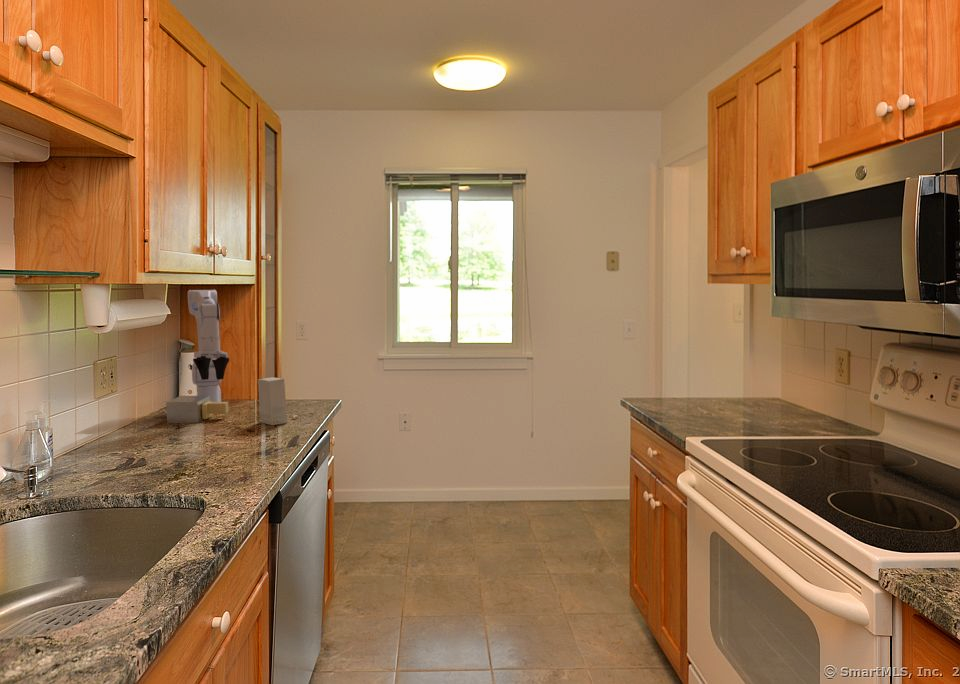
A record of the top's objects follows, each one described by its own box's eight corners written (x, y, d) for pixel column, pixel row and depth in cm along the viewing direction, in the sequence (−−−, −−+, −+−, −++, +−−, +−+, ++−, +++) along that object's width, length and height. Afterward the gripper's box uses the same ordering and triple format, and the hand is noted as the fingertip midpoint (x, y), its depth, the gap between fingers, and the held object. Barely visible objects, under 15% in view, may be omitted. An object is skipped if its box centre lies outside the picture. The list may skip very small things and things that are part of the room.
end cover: (185, 415, 226) (184, 401, 226) (230, 415, 227) (229, 401, 227) (178, 419, 220) (177, 404, 220) (224, 418, 221) (223, 404, 221)
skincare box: (287, 423, 216) (286, 378, 215) (270, 426, 212) (268, 380, 211) (275, 419, 222) (274, 376, 221) (258, 422, 218) (257, 378, 217)
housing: (181, 415, 229) (180, 395, 228) (210, 415, 230) (210, 395, 229) (167, 423, 217) (166, 402, 217) (198, 422, 218) (197, 401, 217)
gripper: (205, 336, 212) (208, 378, 211) (234, 338, 226) (236, 378, 225) (187, 338, 214) (189, 380, 213) (216, 340, 228) (219, 379, 227)
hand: (212, 379), depth 219 cm, fingers open, 7 cm apart
